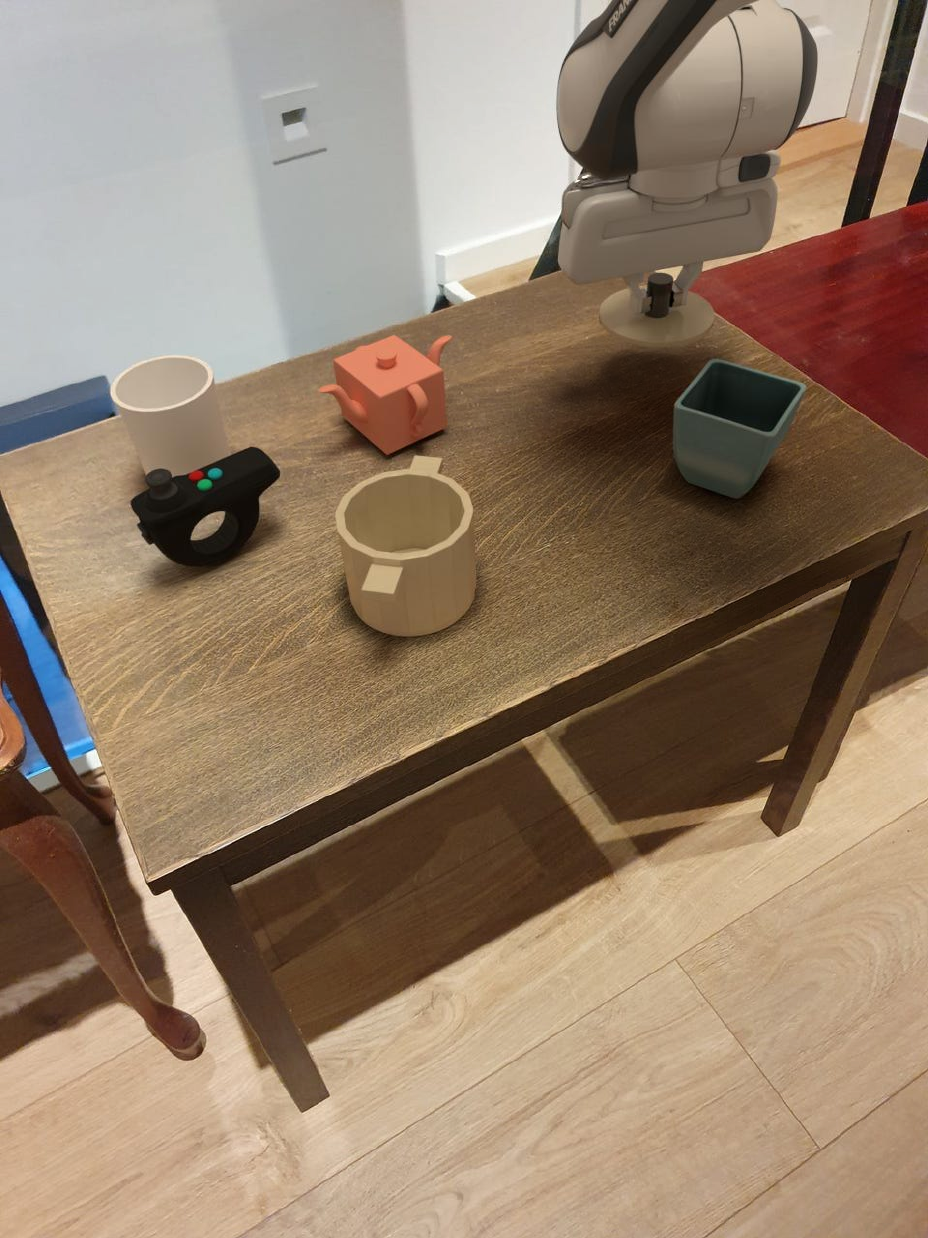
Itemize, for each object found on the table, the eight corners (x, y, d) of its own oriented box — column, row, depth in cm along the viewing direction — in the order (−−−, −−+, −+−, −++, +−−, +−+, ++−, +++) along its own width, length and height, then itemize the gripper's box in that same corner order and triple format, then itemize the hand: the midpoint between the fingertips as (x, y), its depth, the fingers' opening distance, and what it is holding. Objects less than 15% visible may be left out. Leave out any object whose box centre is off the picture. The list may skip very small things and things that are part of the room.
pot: (491, 533, 78) (490, 455, 72) (454, 671, 68) (448, 593, 62) (378, 520, 80) (367, 443, 74) (324, 653, 70) (305, 576, 63)
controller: (151, 568, 77) (113, 477, 70) (275, 507, 82) (252, 416, 74) (173, 596, 75) (136, 504, 67) (299, 531, 79) (278, 439, 72)
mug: (255, 479, 85) (230, 385, 77) (169, 518, 81) (134, 424, 74) (204, 427, 91) (177, 335, 83) (122, 462, 87) (85, 369, 80)
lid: (714, 299, 91) (721, 254, 88) (711, 357, 84) (719, 310, 81) (604, 292, 93) (607, 248, 90) (592, 349, 86) (595, 303, 83)
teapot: (300, 427, 90) (285, 354, 84) (422, 375, 96) (416, 302, 90) (362, 485, 83) (350, 410, 77) (489, 425, 89) (488, 350, 83)
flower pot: (785, 466, 83) (809, 382, 76) (751, 520, 78) (774, 436, 72) (696, 438, 86) (712, 355, 80) (658, 488, 82) (672, 405, 75)
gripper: (575, 191, 74) (569, 342, 84) (799, 153, 77) (766, 303, 87) (550, 163, 78) (546, 311, 88) (762, 129, 81) (735, 275, 91)
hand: (657, 307), depth 87 cm, fingers closed on lid, 2 cm apart
